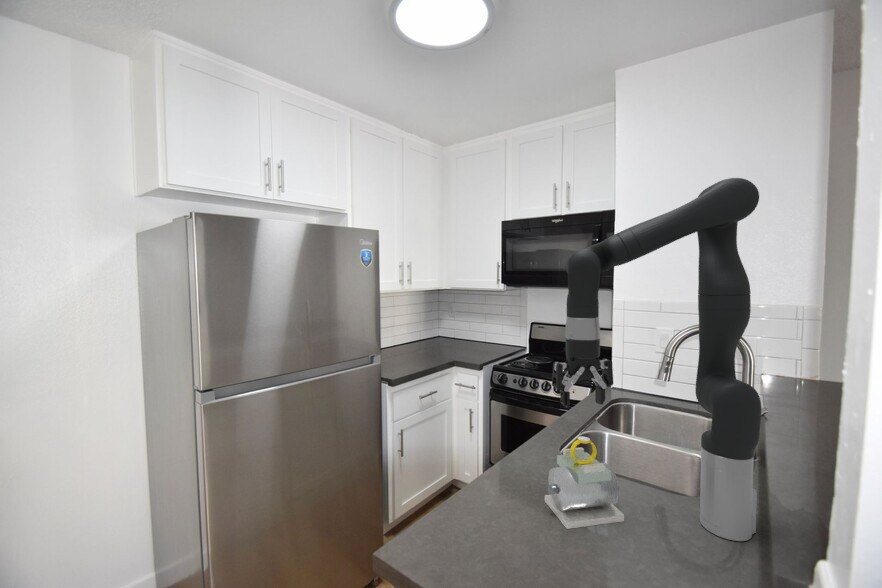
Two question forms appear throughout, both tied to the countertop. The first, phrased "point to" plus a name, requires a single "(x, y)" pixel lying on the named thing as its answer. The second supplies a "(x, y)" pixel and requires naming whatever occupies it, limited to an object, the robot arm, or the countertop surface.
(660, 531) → the countertop surface
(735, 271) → the robot arm
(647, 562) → the countertop surface
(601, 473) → the motor
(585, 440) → the yellow watch
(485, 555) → the countertop surface
